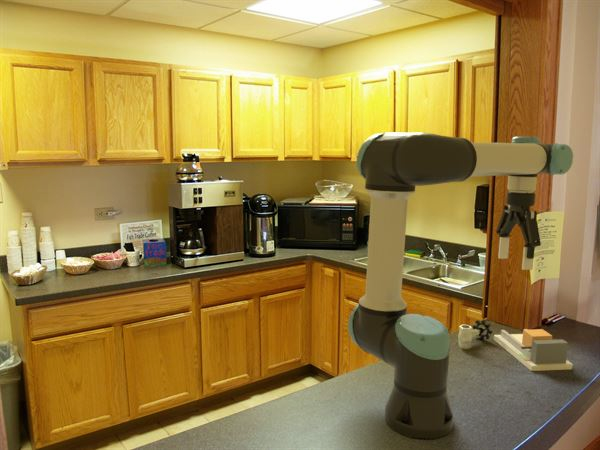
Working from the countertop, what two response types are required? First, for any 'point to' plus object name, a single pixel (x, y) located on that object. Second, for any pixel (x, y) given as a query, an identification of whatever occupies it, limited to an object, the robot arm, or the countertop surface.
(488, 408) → the countertop surface
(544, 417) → the countertop surface
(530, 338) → the orange block
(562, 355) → the cream and grey fixture
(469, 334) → the valve
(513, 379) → the countertop surface
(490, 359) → the countertop surface
